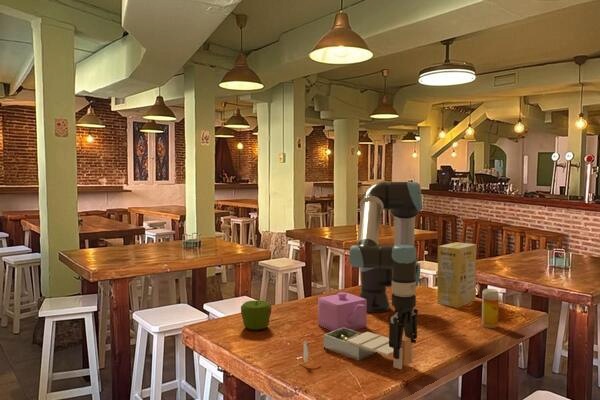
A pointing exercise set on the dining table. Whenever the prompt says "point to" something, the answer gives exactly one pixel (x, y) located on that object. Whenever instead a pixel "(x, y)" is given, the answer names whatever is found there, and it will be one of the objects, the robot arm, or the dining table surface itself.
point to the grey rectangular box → (345, 343)
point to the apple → (256, 314)
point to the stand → (306, 351)
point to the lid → (382, 345)
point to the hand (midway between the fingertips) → (403, 364)
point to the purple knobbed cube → (342, 311)
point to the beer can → (490, 308)
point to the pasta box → (456, 274)
